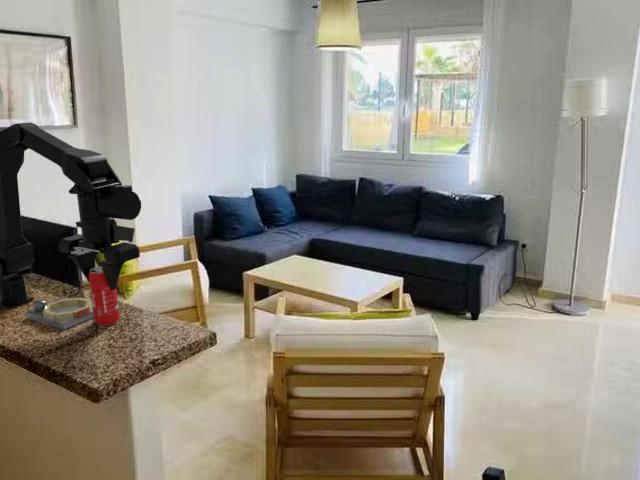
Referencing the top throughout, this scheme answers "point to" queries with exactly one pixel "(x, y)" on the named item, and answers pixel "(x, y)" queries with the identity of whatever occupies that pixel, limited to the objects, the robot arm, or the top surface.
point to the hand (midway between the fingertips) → (103, 286)
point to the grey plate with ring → (61, 312)
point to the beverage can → (103, 298)
